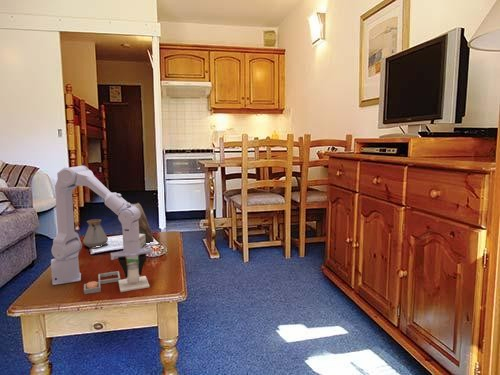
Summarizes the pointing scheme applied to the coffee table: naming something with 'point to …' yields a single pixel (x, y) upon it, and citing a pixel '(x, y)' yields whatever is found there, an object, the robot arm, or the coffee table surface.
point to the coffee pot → (95, 234)
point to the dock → (102, 282)
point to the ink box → (142, 245)
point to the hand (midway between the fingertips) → (133, 275)
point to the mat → (133, 284)
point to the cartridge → (132, 272)
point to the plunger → (92, 284)
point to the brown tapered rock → (144, 225)
